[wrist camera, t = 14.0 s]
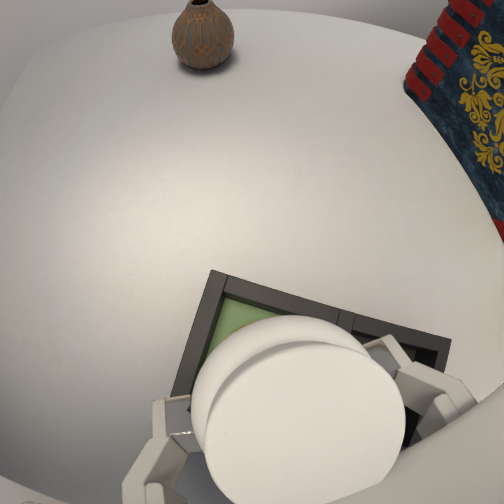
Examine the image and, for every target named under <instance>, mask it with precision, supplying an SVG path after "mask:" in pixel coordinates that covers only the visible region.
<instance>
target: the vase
mask: <svg viewBox="0 0 504 504" xmlns="http://www.w3.org/2000/svg"><path fill="white" fill-rule="evenodd" d="M233 43H234V30H233V26H232V23H231V21H230V19H229V17H228V16H227V15H226V14H225V13H224V12H223V11H222V10H221V9H219V8H218V7H217V6H216V5H215V4H214V3H213V2H212V0H190V1H189V2H188V4H187V6H186V8H185V10H184V11H183V12H182V14H181V15H180V16H179V17H178V19H177V20H176V22H175V24H174V27H173V31H172V44H173V48H174V51H175V53H176V55H177V56H178V58H179V59H180V60H181V61H182V62H183V63H184V64H186V65H188V66H190V67H193V68H196V69H208V68H212V67H214V66H216V65H218V64H220V63H221V62H223V61H224V60H225V59H226V58H227V57H228V55H229V54H230V52H231V49H232V47H233Z"/></svg>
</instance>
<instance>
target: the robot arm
mask: <svg viewBox="0 0 504 504" xmlns="http://www.w3.org/2000/svg"><path fill="white" fill-rule="evenodd" d="M362 346H363V347H364V348H365V349H366V351H367V352H368V354H369V355H370V357H371V358H372V359H373V360H374V361H376V362H377V363H378V364H379V365H380V366H382V367H383V368H384V369H385V370H386V372H387V373H388V374H389V375H390V376H391V377H392V379H393V380H394V382H395V383H396V385H397V387H398V389H399V391H400V394H401V397H402V400H403V404H404V405H405V406H406V407H408V408H410V409H412V410H413V411H415V412H417V413H418V414H420V415H422V416H423V417H422V419H421V420H420V422H419V423H418V425H417V428H416V429H417V431H418V433H419V434H420V436H421V438H422V440H421V441H419V442H417V443H415V444H413V445H412V446H410V447H408V448H406V449H404V450H402V451H400V452H399V455H398V457H397V459H396V461H395V463H394V465H393V466H392V468H391V469H390V471H389V473H388V474H387V475H386V477H385V478H384V479H383V480H382V481H381V482H379V483H377V484H375V485H373V486H371V487H368V488H366V489H363V490H361V491H359V492H356V493H353V494H351V495H348V496H346V497H343V498H340V499H337V500H335V501H332V502H329V503H326V504H504V383H503V384H502V385H501V386H499V387H498V388H497V389H496V390H495V391H493V392H492V393H491V394H489V395H488V396H487V397H486V398H484V399H483V400H482V401H480V402H479V403H477V401H476V400H475V398H474V397H473V396H472V394H471V393H470V391H469V390H468V389H467V387H466V386H465V385H464V383H463V382H462V381H461V380H459V379H456V378H454V377H452V376H449V375H447V374H444V373H442V372H440V371H437V370H435V369H433V368H430V367H428V366H425V365H423V364H421V363H418V362H416V361H415V362H412V361H411V360H410V358H409V357H408V356H407V354H406V353H405V352H404V350H403V349H402V348H401V346H400V345H399V344H398V342H397V341H396V340H395V338H394V337H393V336H392V335H391V334H389V335H386V336H384V337H381V338H379V339H376V340H373V341H371V342H368V343H366V344H363V345H362ZM191 399H192V394H188V395H183V396H177V397H171V398H163V399H157V400H153V402H152V438H150V439H148V441H147V443H146V444H145V446H144V447H143V449H142V451H141V452H140V454H139V456H138V457H137V459H136V460H135V462H134V464H133V465H132V467H131V468H130V470H129V472H128V473H127V475H126V476H125V478H124V480H123V481H122V483H121V486H122V504H187V502H186V499H185V498H184V497H182V496H180V495H178V494H177V493H175V492H173V489H174V486H175V484H176V482H177V480H178V477H179V475H180V473H181V471H182V468H183V466H184V464H185V462H186V459H187V457H188V454H190V453H196V452H202V449H201V447H200V445H199V443H198V441H197V439H196V436H195V433H194V430H193V426H192V420H191ZM23 504H40V503H35V502H31V501H27V502H24V503H23Z"/></svg>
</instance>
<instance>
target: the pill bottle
mask: <svg viewBox="0 0 504 504" xmlns="http://www.w3.org/2000/svg"><path fill="white" fill-rule="evenodd" d="M191 420H192V426H193V430H194V433H195V436H196V439H197V441H198V443H199V445H200V447H201V449H202V451H203V452H204V454H205V458H206V463H207V466H208V469H209V471H210V474H211V477H212V478H213V480H214V482H215V483H216V485H217V486H218V488H219V489H220V490H221V491H222V492H223V493H224V495H225V496H226V497H227V498H228V499H230V500H231V501H232V502H233V503H234V504H326V503H329V502H332V501H335V500H337V499H340V498H343V497H346V496H348V495H351V494H353V493H356V492H359V491H361V490H363V489H366V488H368V487H371V486H373V485H375V484H377V483H379V482H381V481H382V480H383V479H384V478H385V477H386V475H387V474H388V473H389V471H390V469H391V468H392V466H393V465H394V463H395V461H396V459H397V457H398V455H399V452H400V449H401V446H402V443H403V439H404V433H405V409H404V404H403V400H402V397H401V394H400V391H399V389H398V387H397V385H396V383H395V382H394V380H393V379H392V377H391V376H390V375H389V374H388V373H387V372H386V370H385V369H384V368H383V367H382V366H380V365H379V364H378V363H377V362H376V361H374V360H373V359H372V358H371V357H370V355H369V354H368V352H367V351H366V349H365V348H364V347H363V346H362V345H361V343H359V342H358V341H357V340H356V339H355V338H354V337H353V336H352V335H351V334H350V333H348V332H347V331H345V330H343V329H342V328H340V327H338V326H336V325H334V324H332V323H330V322H327V321H324V320H321V319H317V318H313V317H308V316H299V315H284V316H275V317H270V318H265V319H262V320H258V321H255V322H251V323H248V324H246V325H243V326H241V327H239V328H238V329H236V330H234V331H233V332H232V333H230V334H229V335H228V336H227V337H226V338H225V339H224V340H223V341H222V342H221V343H220V344H219V345H218V346H217V347H216V348H215V349H214V350H213V351H212V352H211V354H210V355H209V356H208V358H207V359H206V361H205V362H204V364H203V366H202V367H201V369H200V371H199V374H198V376H197V379H196V381H195V385H194V388H193V393H192V399H191Z"/></svg>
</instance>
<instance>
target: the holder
mask: <svg viewBox="0 0 504 504" xmlns="http://www.w3.org/2000/svg"><path fill="white" fill-rule="evenodd" d="M284 315H299V316H308V317H313V318H317V319H321V320H324V321H327V322H330V323H332V324H334V325H336V326H338V327H340V328H342V329H343V330H345V331H347V332H348V333H350V334H351V335H352V336H353V337H354V338H355V339H356V340H357V341H358V342H359V343H361V345H363V344H366V343H368V342H371V341H373V340H376V339H379V338H381V337H384V336H386V335H389V334H391V335H392V336H393V337H394V338H395V340H396V341H397V342H398V344H399V345H400V346H401V348H402V349H403V350H404V352H405V353H406V354H407V356H408V357H409V358H410V360H411V361H412V362H415V361H416V362H418V363H421V364H423V365H425V366H428V367H430V368H433V369H435V370H437V371H440V372H442V373H444V371H445V367H446V363H447V359H448V354H449V350H450V345H451V340H452V339H449V338H445V337H441V336H437V335H433V334H429V333H425V332H422V331H418V330H414V329H410V328H407V327H403V326H399V325H396V324H392V323H388V322H385V321H381V320H378V319H374V318H370V317H367V316H363V315H360V314H356V313H353V312H349V311H346V310H342V309H339V308H335V307H332V306H328V305H325V304H322V303H318V302H315V301H311V300H308V299H305V298H301V297H298V296H295V295H291V294H288V293H285V292H282V291H278V290H275V289H272V288H269V287H265V286H262V285H259V284H256V283H252V282H249V281H246V280H243V279H240V278H237V277H233V276H230V275H227V274H224V273H221V272H218V271H215V270H211V271H210V274H209V277H208V280H207V283H206V286H205V289H204V292H203V295H202V298H201V301H200V304H199V307H198V310H197V313H196V316H195V319H194V322H193V325H192V328H191V331H190V335H189V338H188V341H187V344H186V347H185V350H184V353H183V356H182V360H181V363H180V366H179V369H178V372H177V376H176V379H175V382H174V385H173V389H172V392H171V395H170V398H171V397H177V396H183V395H188V394H192V393H193V388H194V385H195V381H196V379H197V376H198V374H199V371H200V369H201V367H202V366H203V364H204V362H205V361H206V359H207V358H208V356H209V355H210V354H211V352H212V351H213V350H214V349H215V348H216V347H217V346H218V345H219V344H220V343H221V342H222V341H223V340H224V339H225V338H226V337H227V336H228V335H229V334H230V333H232V332H233V331H234V330H236V329H238V328H239V327H241V326H243V325H246V324H248V323H251V322H255V321H258V320H262V319H265V318H270V317H275V316H284ZM404 409H405V433H404V439H403V443H402V446H401V449H400V451H402V450H404V449H406V448H408V447H410V446H412V445H413V444H415V443H417V442H419V441H421V440H422V438H421V436H420V434H419V433H418V431H417V429H416V428H417V425H418V423H419V422H420V420H421V419H422V417H423V416H422V415H420V414H418V413H417V412H415V411H413V410H412V409H410V408H408V407H406V406H405V405H404Z"/></svg>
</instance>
